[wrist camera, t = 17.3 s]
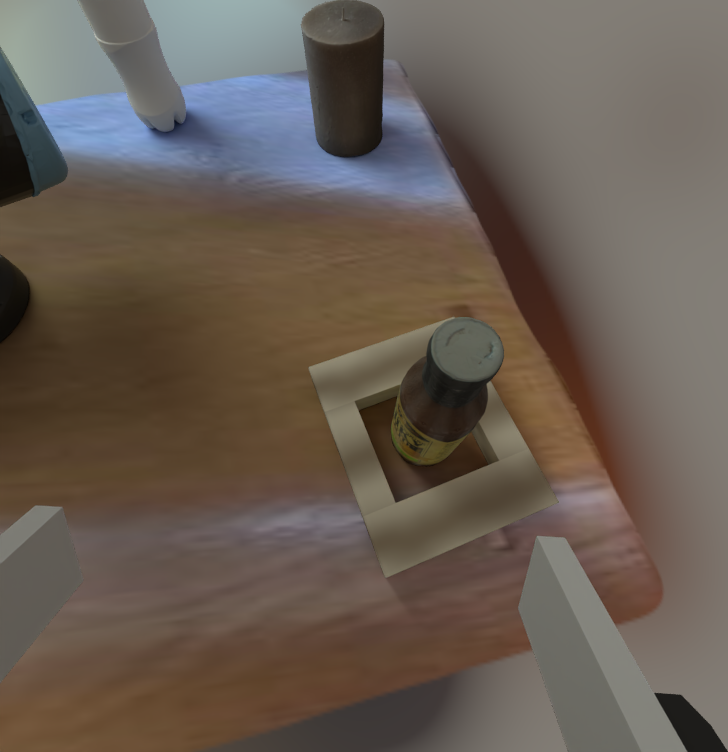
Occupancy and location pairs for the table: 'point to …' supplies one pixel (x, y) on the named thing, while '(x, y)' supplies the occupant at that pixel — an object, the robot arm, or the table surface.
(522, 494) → the birch stand
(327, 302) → the table surface
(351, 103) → the pillar candle
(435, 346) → the sauce bottle
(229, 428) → the table surface
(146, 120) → the water bottle
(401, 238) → the table surface
